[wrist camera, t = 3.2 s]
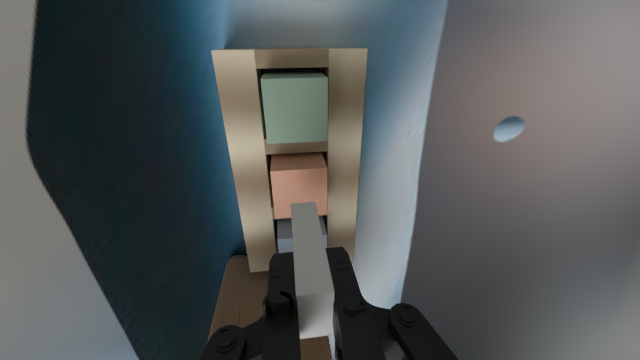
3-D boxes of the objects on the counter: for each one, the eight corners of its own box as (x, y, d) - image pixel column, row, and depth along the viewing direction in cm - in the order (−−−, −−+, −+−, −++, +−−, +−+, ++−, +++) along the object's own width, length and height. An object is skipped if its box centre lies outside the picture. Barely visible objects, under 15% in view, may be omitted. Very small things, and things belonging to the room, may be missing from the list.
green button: (320, 124, 21) (327, 140, 18) (269, 126, 21) (267, 143, 17) (319, 71, 19) (327, 77, 16) (264, 72, 19) (260, 79, 16)
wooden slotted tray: (344, 236, 30) (353, 262, 26) (254, 244, 29) (250, 272, 25) (353, 47, 21) (367, 48, 18) (223, 48, 20) (211, 50, 16)
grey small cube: (320, 241, 27) (326, 270, 23) (281, 244, 26) (281, 275, 23) (320, 207, 25) (327, 235, 22) (277, 211, 25) (277, 239, 21)
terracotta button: (320, 189, 24) (327, 214, 21) (276, 192, 24) (275, 218, 20) (320, 148, 22) (327, 167, 19) (271, 150, 22) (270, 171, 18)
